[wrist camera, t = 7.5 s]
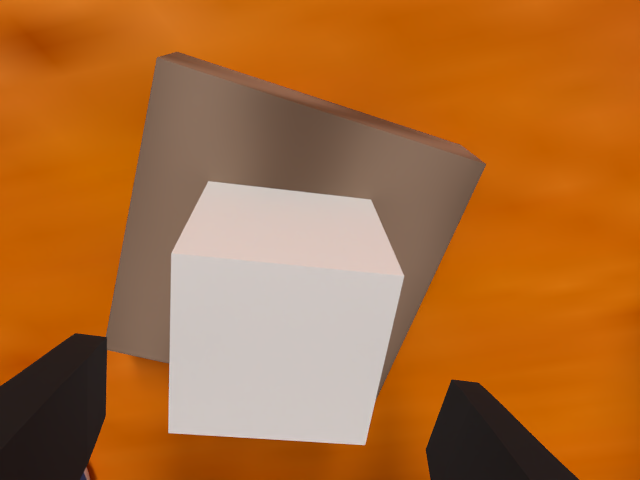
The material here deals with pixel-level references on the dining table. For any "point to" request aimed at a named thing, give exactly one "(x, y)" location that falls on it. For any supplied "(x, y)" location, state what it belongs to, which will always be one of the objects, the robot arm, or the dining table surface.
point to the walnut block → (276, 183)
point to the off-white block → (279, 315)
